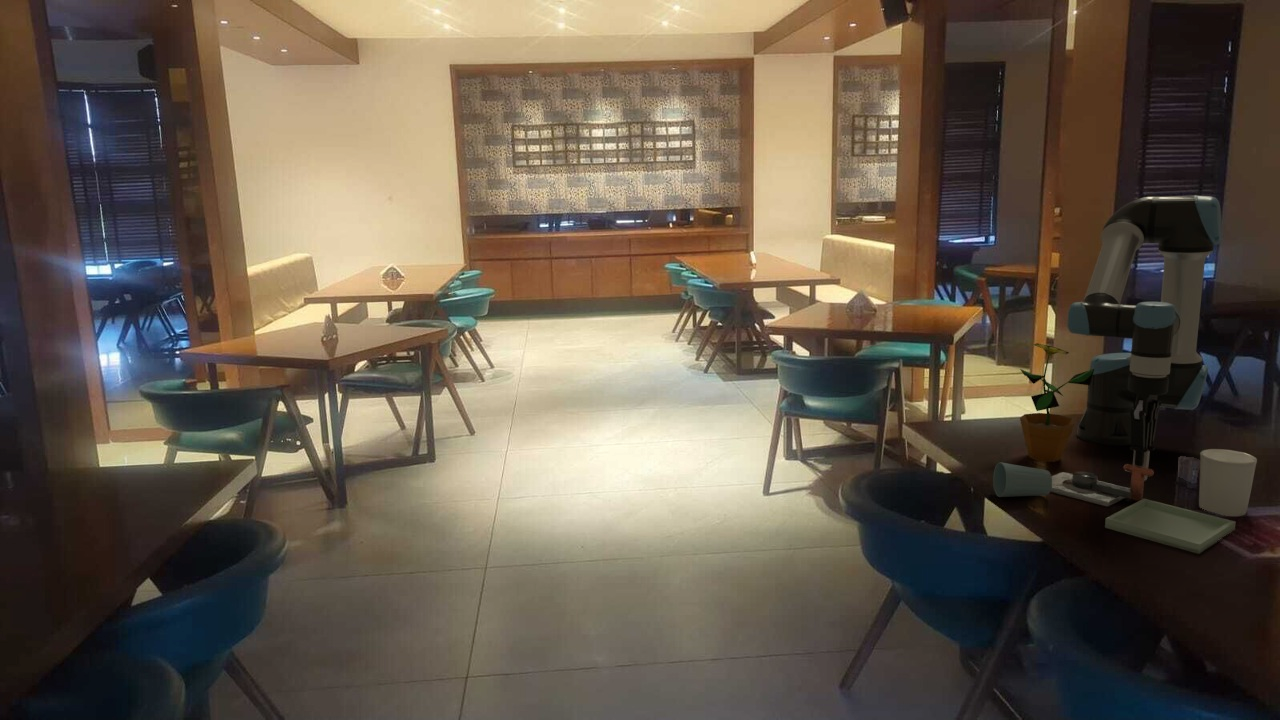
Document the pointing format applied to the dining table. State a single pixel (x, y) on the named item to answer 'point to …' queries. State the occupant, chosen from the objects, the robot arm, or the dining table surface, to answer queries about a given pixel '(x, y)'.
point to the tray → (1170, 525)
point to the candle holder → (1225, 481)
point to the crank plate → (1081, 491)
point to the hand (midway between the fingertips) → (1139, 478)
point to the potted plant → (1048, 417)
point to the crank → (1134, 493)
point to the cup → (1020, 481)
